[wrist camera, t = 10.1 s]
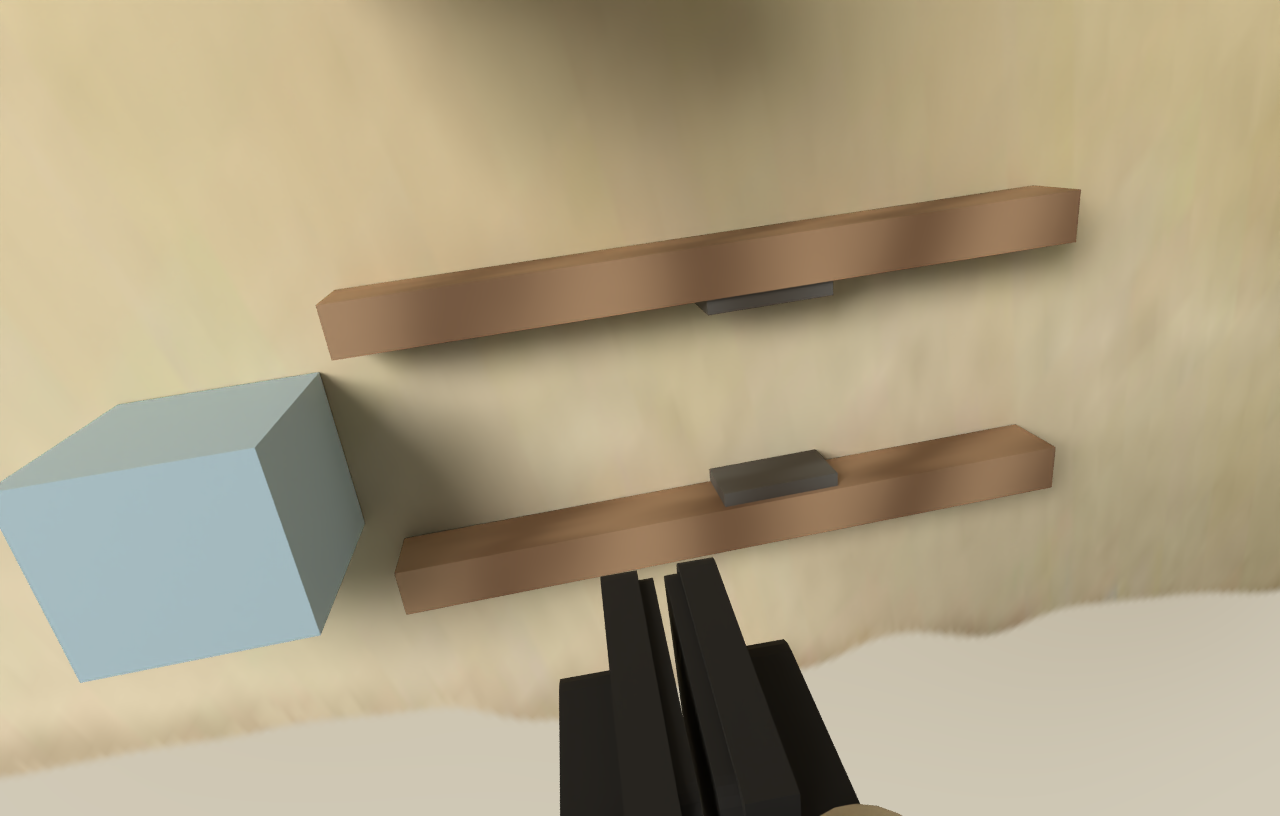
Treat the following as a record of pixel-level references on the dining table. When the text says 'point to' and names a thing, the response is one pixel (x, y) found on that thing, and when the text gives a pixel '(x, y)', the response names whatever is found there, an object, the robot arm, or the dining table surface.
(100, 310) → the dining table surface
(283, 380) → the block
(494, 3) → the dining table surface
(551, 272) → the chute
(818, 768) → the robot arm
